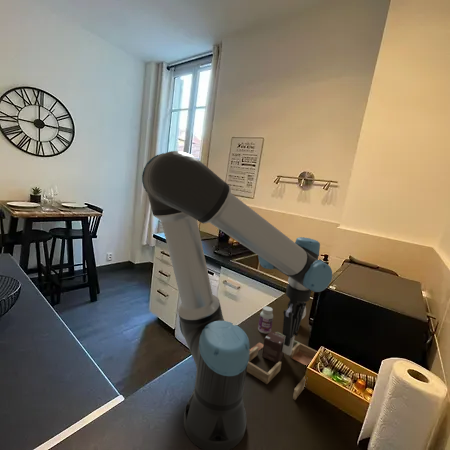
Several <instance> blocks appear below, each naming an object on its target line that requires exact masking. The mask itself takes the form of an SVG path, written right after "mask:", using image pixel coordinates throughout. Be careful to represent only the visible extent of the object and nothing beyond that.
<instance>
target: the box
mask: <svg viewBox="0 0 450 450" xmlns="http://www.w3.org/2000/svg"><path fill="white" fill-rule="evenodd" d="M275 332H276V331H272V330H271V332H270V333H268V334H267V335H266V336H265V337H264V339H263V345H264V346H263V348H262V354H261V355H262V356H261V357H262V358H264V359H267V360H269V361H270V362H273V363H275V364H277V363H278V362H279V361H280V362H281V360H282V359H283V357H284V355H285V353H283V352H282V349H283V344H284V339H285V336H282V335H280V334H278V333H275Z"/></svg>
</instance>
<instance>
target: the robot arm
mask: <svg viewBox="0 0 450 450" xmlns="http://www.w3.org/2000/svg"><path fill="white" fill-rule="evenodd" d="M141 182H142V186H143V188H144V191H145V192H146V194H147V197H148V200H149V204H150V208H151V212H152V216H154V217H155V218H156V219H158V220H160V222H161V225H162V229H163V234H164V237H165V238H164V239H165V242H166V245H167V250H168V253H169V257H170V261H171V262H170V263H171V266H172V269H173V270H172V271H173V273H174V274H173V275H174V277H175V278H174V279H175V281H176V282H175V283H176V286H177V290H178V294H179V298H180V302H181V303H180V304H179V306H178V308H177V314H178V317H179V321H178V322H179V329H180V333H181V334H182V336H183V338H184V340H185V342H186V343H185V344H186V345H187V347H188V349H189V351H190V354H191V357H192V358H193V361H194V363H195V367H196V371H195V372H196V374H195V382H194V389H193V391H192V393H191V395H190V397H189V399H188V400H187V403H186V405H185V409H184V414H183V428H184V431H185V434H186V435H187V437H188V439H189V440H190V441H191V443H193V444H194V445H195V446H197V447H198V448H199V449H201V450H232V449H234V448H235V447H236V446H238V444H240V443H241V441H242V440H243V438H244V436H245V433H246V428H247V413H246V409H245V404H244V398H243V397H244V389H245V384H246V377H247V373H248V372H247V365H248V362H249V355H250V354H249V352H250V351H249V350H250V349H251V348H250V346H251V345H250V339H249V337H248V335H247V333H246V331H244V329H242V327H240V326H239V325H237V324H233V323H232V321H228V320H227V321H226V320H225V319H224V316H223V311H222V307H221V302H220V299H219V297H218V296H216V295H215V294H213V290H212V286H211V282H210V281H211V280H210V276H209V273H208V271H209V270H208V267H207V262H206V257H205V253H204V247H203V243H202V242H203V241H202V237H201V233H200V228H199V224H198V222H199V223H201V224H208V223H210V224H211V225H212V226H213V227H215V228H216V229H218V230H220V231H221V232H223V233H225V234H226V235H227V236H229V237H230V238H232V239H233V240H235V241H236V242H238V243H239V244H240V245H242V246H243V247H245V248H247V249H248V250H250V251H251V252H253V253H254V254H255V255H257V257H258V262H259V265H260V266H261V267H262V268H263V269H266V270H267V269H268V270H276V271H278V272H280V273H282V274H283V275H285V276H287V277H288V279H287V285H286V292H285V295H286V297H288V299H289V301H288V302H287V309H284V310H283V311H282V313H283V322H282V323H283V324H282V334H283V335H284V336H285V339H284V344H283V349H282V352H283V353H284V355H287V356H289V357H290V355H291V353H292V348H293V343H294V340H295V337H298V336H299V333H298V332H299V330H300V326H301V323H302V322H301V321H302V320H303V319H302V315H303V312H304V309H305V307H307V302H309V301H310V299H311V295H312V292H314V293H320V292H323V291H325V290H326V289H327V288H328V287H329V285H330V283H331V282H332V280H333V270H332V267H331V266H330V265H329V264H327V263H326V262H324V261H323V260H321V259H319V257H320V249H321V244H320V243H321V242H319V241H318V240H316V239H314V238H310V237H302V236H301V237H300V236H299V237H297V238H296V239H295V241H293V239H291V238H290V237H288V236H287V235H286V234H285V233H283V232H282V231H281V230H279V229H278V228H276V227H275V226H274V225H273V224H271V222H269V221H267V220H266V219H265V218H264V217H263V216H262V215H260V214H259V213H258V212H256V211H255V210H253V209H252V208H251V207H250V206H248V204H246V203H244V202H243V201H242V200H241V199H240V198H238V197H237V196H235V195H234V194H233V193H232V192H231V186H230V185H229V184H228V183H227V182H226V181H225V180H223V179H222V178H221V177H219V175H217V174H216V173H215V172H214V171H213V170H212V169H210V168H209V167H208V166H207V165H205V164H204V162H202V161H201V160H199V159H198V158H197V157H195V156H193V155H192V154H190V153H187V152H185V151H181V150H171V151H167V152H165V153H164V152H163V153H159V154H156V155H155V156H152V158H150V159H149V160H148V161H147V162H146V163H145V166H144V167H143V171H142V174H141ZM301 319H302V320H301Z"/></svg>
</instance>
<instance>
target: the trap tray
mask: <svg viewBox="0 0 450 450" xmlns="http://www.w3.org/2000/svg"><path fill="white" fill-rule="evenodd" d="M274 332H275V333H278V334H280V335H282V336H284V335H283V333H281V332H279V331H277V330H276V331H274ZM263 346H264V343H261V342H260V341H259V342H258V343H256V344H254V345H253V347H251V348H249V351H250V352H249V354H250V355H249V362H248V365H247V372H246V373H248V374H249V375H252V376H253V377H255V378H256V379H258V380H259V381H261V382H263V384H266V385H268V384H269V383H270V382H271V381H272V380H273V379H274V378H275V377H276V376H277V374H279V372H280V371H281V368H282V361H281V360H280V361H279V362H278V363H275V364H274V366H273V367H271V369H269V371H265V370H264V369H262V368H260V367H259V366H258V365H256V364H255V363H252V362H251V361H252V360H253V359H255V358H256V357H257V356H258V353H259V351H261V350H263ZM317 351H318V350H316V349H314V348H312V347H310V346H307V345H305V344H303V343H301V342H299V341H297V340H295V339H294V343H293V348H292V353H291V355H290V356H289V358H291V359H292V360H294V361H296V362H298V363H300V364H302V365H303V366H305V365H306V367H307V365H308V364H309V363H310V361H311V360H312V358H313V357H314V355H315V354H316V352H317ZM305 376H306V375H304V376H303V377H302V379H301V380H300V381H299V383H298V384H297V385H296V387H294V388H293V389H294V390H293V394H292V395H293V396H292V399H293V400H294V401H296V400H297V399H298V397H299V396H300V395H301V393H302V392H303V390H304V389H305V388H306V386H305V381H306V379H305ZM304 387H305V388H304Z"/></svg>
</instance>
